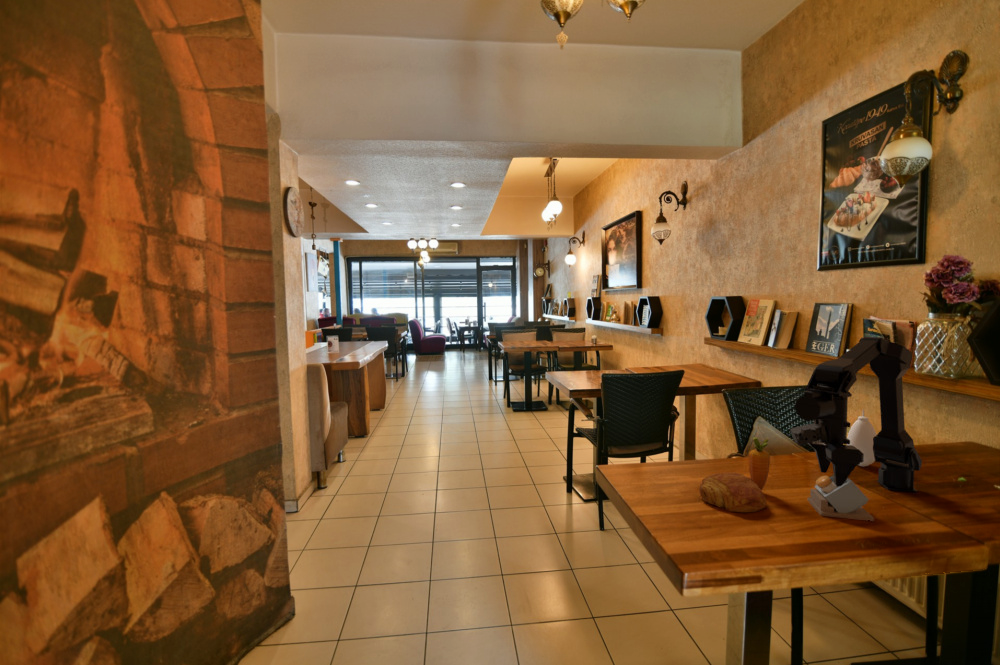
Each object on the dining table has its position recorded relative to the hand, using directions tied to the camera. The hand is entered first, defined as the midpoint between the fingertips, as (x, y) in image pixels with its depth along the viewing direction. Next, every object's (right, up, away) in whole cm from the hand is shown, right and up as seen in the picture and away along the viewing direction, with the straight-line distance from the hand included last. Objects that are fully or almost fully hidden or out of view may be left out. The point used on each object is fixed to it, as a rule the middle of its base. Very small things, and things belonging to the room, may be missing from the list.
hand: (830, 478), depth 112 cm
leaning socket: (+2, -8, 0) cm, 8 cm away
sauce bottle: (+32, -6, +31) cm, 45 cm away
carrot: (-11, -7, +11) cm, 18 cm away
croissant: (-21, -8, +5) cm, 23 cm away
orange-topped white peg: (+3, -6, 0) cm, 6 cm away
